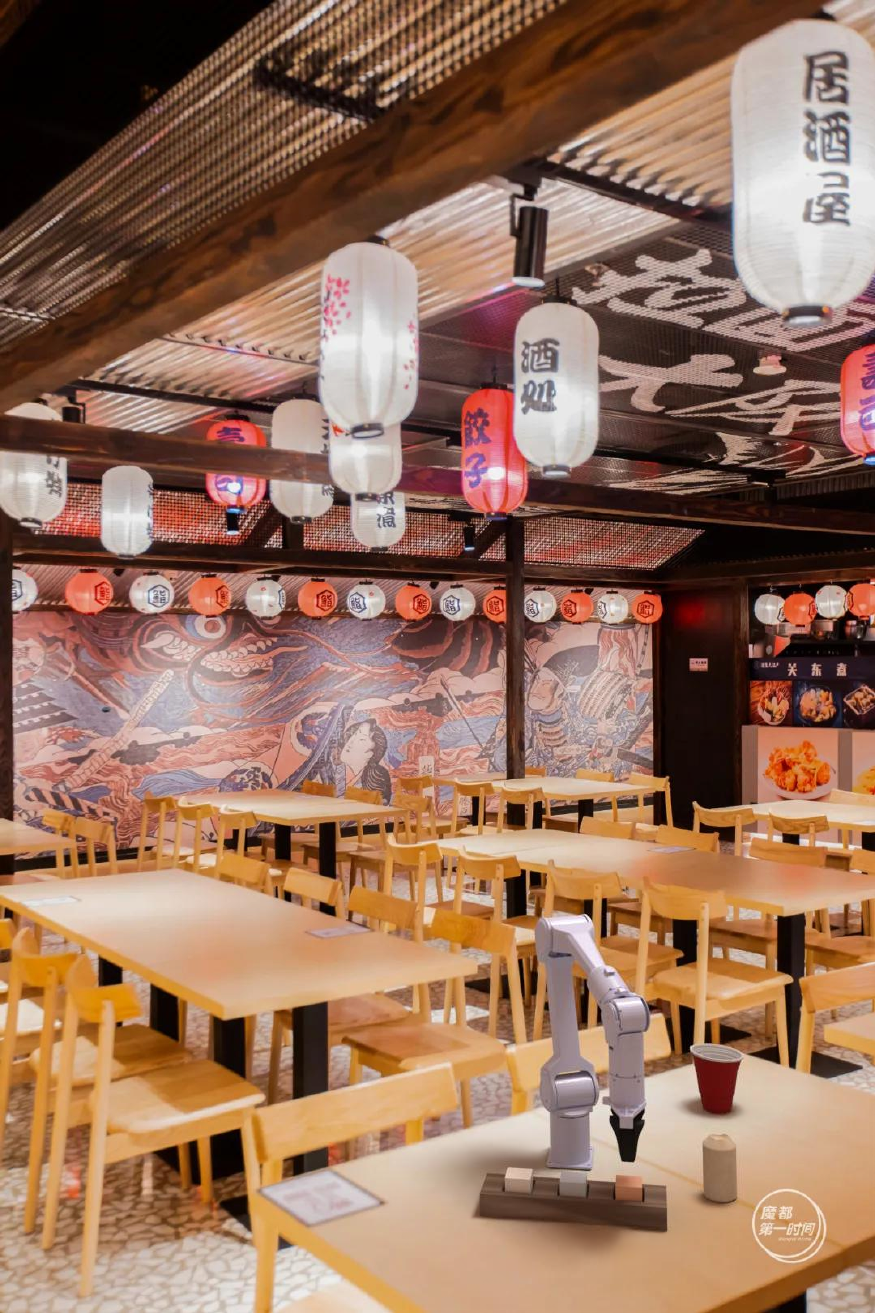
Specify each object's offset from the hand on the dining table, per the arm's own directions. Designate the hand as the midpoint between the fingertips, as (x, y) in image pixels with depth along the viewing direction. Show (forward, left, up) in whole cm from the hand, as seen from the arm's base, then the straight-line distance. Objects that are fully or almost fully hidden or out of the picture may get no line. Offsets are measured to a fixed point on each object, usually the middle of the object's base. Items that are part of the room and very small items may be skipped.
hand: (628, 1157), depth 177 cm
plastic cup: (-50, +17, -10) cm, 54 cm away
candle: (-10, +15, -10) cm, 20 cm away
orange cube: (0, 0, -7) cm, 7 cm away
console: (0, -9, -9) cm, 13 cm away
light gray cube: (0, -9, -7) cm, 12 cm away
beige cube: (0, -18, -7) cm, 19 cm away
